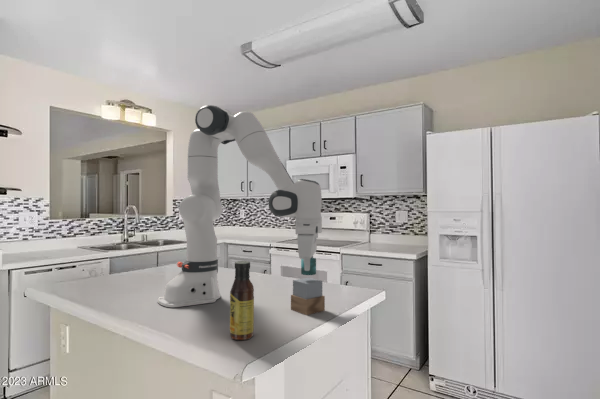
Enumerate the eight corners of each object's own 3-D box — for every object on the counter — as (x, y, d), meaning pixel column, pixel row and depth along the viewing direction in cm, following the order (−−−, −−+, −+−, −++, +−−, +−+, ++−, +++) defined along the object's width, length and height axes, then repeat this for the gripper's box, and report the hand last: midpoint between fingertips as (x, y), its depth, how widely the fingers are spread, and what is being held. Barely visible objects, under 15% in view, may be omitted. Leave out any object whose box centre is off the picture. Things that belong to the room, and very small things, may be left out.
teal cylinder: (308, 275, 115) (308, 260, 116) (298, 273, 119) (298, 258, 119) (319, 273, 119) (319, 258, 119) (309, 271, 122) (309, 257, 123)
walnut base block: (306, 315, 113) (306, 299, 113) (290, 310, 119) (290, 295, 119) (324, 311, 118) (324, 296, 119) (308, 305, 125) (308, 291, 125)
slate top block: (306, 299, 114) (306, 283, 114) (292, 295, 119) (292, 280, 120) (322, 296, 118) (322, 280, 119) (308, 292, 124) (308, 277, 124)
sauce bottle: (231, 333, 97) (231, 259, 97) (254, 332, 97) (254, 259, 98) (228, 342, 90) (228, 263, 91) (253, 341, 91) (253, 263, 91)
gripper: (303, 225, 130) (303, 263, 130) (294, 229, 110) (294, 274, 109) (320, 225, 129) (320, 264, 129) (314, 229, 109) (314, 274, 109)
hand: (308, 268), depth 119 cm, fingers closed on teal cylinder, 5 cm apart
